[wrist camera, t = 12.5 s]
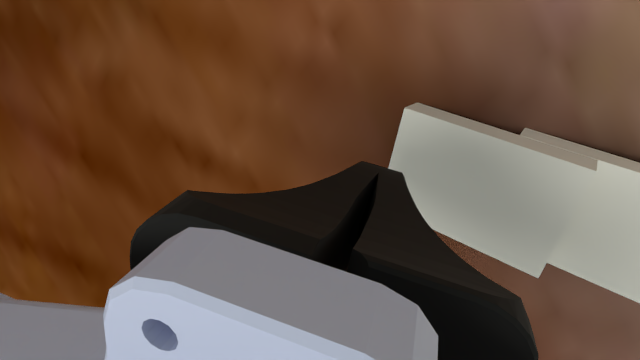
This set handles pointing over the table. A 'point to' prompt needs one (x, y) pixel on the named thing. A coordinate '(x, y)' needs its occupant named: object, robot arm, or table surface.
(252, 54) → the table surface
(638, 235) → the domino
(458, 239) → the domino
